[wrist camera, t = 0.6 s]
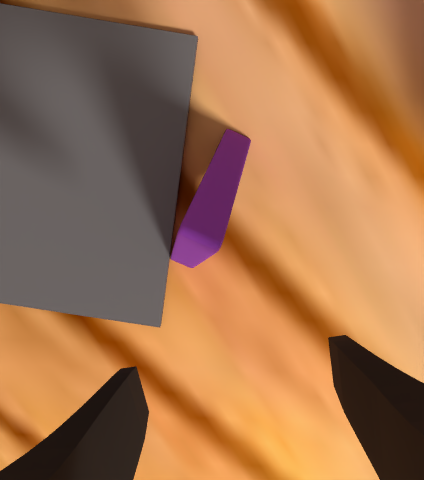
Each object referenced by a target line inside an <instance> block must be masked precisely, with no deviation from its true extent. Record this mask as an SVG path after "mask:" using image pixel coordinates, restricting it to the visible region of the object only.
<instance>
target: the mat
mask: <svg viewBox="0 0 424 480" xmlns="http://www.w3.org/2000/svg"><path fill="white" fill-rule="evenodd" d="M197 42H198V36H194V35H188V34H182V33H176V32H170V31H164V30H158V29H152V28H146V27H140V26H134V25H128V24H122V23H116V22H110V21H104V20H98V19H92V18H85V17H79V16H73V15H67V14H61V13H55V12H49V11H43V10H37V9H31V8H25V7H19V6H13V5H7V4H1V3H0V303H3V304H10V305H16V306H23V307H29V308H36V309H43V310H49V311H56V312H62V313H69V314H75V315H82V316H88V317H95V318H102V319H108V320H115V321H121V322H128V323H134V324H141V325H148V326H154V327H160V326H161V321H162V313H163V305H164V297H165V290H166V282H167V274H168V267H169V259H170V251H171V243H172V236H173V228H174V220H175V212H176V205H177V197H178V189H179V181H180V174H181V166H182V158H183V150H184V143H185V135H186V127H187V119H188V112H189V104H190V96H191V88H192V81H193V73H194V65H195V57H196V50H197Z"/></svg>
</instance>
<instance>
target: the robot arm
mask: <svg viewBox="0 0 424 480" xmlns="http://www.w3.org/2000/svg"><path fill="white" fill-rule="evenodd" d="M328 340H329V348H330V357H331V366H332V374H333V383H334V387H335V390H336V393H337V395H338V398H339V400H340V403H341V405H342V408H343V410H344V413H345V415H346V417H347V419H348V421H349V422H350V424H351V426H352V428H353V430H354V432H355V434H356V436H357V438H358V439H359V441H360V443H361V445H362V447H363V449H364V451H365V452H366V454H367V456H368V458H369V460H370V462H371V464H372V466H373V467H374V469H375V471H376V473H377V475H378V477H379V479H380V480H424V383H422V382H420V381H418V380H417V379H415V378H413V377H411V376H409V375H408V374H406V373H404V372H402V371H400V370H399V369H397V368H395V367H394V366H392V365H390V364H389V363H387V362H385V361H384V360H382V359H381V358H379V357H377V356H376V355H374V354H373V353H371V352H370V351H368V350H367V349H365V348H364V347H362V346H361V345H360V344H358V343H357V342H355V341H354V340H352V339H351V338H349V337H348V336H346V335H342V336H335V337H329V338H328ZM148 415H149V410H148V406H147V403H146V399H145V396H144V392H143V389H142V385H141V381H140V378H139V374H138V371H137V367H129V368H123V369H120V370H119V371H118V372H117V373H115V374H114V375H113V376H112V377H111V378H110V379H109V380H108V381H107V382H106V383H105V384H104V385H103V386H102V387H101V388H100V389H99V390H98V391H97V392H96V393H95V394H94V395H93V396H92V397H91V398H90V399H89V400H88V401H87V402H86V403H85V404H84V405H83V406H82V407H81V408H80V409H78V410H77V411H76V412H75V413H74V414H73V415H72V416H71V417H70V418H69V419H68V420H66V421H65V422H64V423H63V424H62V425H61V426H60V427H59V428H57V429H56V430H55V431H54V432H53V433H52V434H50V435H49V436H48V437H47V438H45V439H44V440H43V441H42V442H40V443H39V444H38V445H36V446H35V447H34V448H33V449H31V450H30V451H29V452H27V453H26V454H24V455H23V456H21V457H20V458H19V459H17V460H16V461H14V462H13V463H11V464H10V465H9V466H7V467H6V468H4V469H3V470H1V471H0V480H133V479H134V475H135V472H136V468H137V465H138V461H139V458H140V454H141V451H142V447H143V443H144V440H145V434H146V428H147V422H148Z"/></svg>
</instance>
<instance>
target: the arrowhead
mask: <svg viewBox="0 0 424 480" xmlns="http://www.w3.org/2000/svg"><path fill="white" fill-rule="evenodd" d="M250 142H251V140H250V139H249V138H247V137H245V136H243V135H241V134H239V133H236V132H234V131H232V130H230V129H227V130H226V131H225V133H224V135H223V137H222V140H221V142H220V144H219V146H218V148H217V150H216V152H215V154H214V156H213V158H212V160H211V162H210V165H209V167H208V169H207V171H206V173H205V175H204V177H203V179H202V181H201V183H200V185H199V188H198V190H197V192H196V194H195V196H194V198H193V200H192V202H191V204H190V206H189V208H188V211H187V213H186V215H185V217H184V219H183V221H182V223H181V225H180V228H179V230H178V233H177V236H176V240H175V243H174V247H173V250H172V254H171V259H172V260H173V261H176V262H178V263H180V264H183V265H185V266H187V267H190V268H193V267H195V266H197V265H198V264H200V263H201V262H203V261H204V260H206V259H207V258H209V257H210V256H212V255H213V254H215V253H216V252H217V251H218V250H219V249H220V247H221V245H222V242H223V239H224V235H225V232H226V228H227V225H228V221H229V218H230V214H231V210H232V207H233V203H234V200H235V196H236V193H237V189H238V186H239V182H240V178H241V175H242V171H243V168H244V164H245V160H246V157H247V153H248V150H249V146H250Z"/></svg>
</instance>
